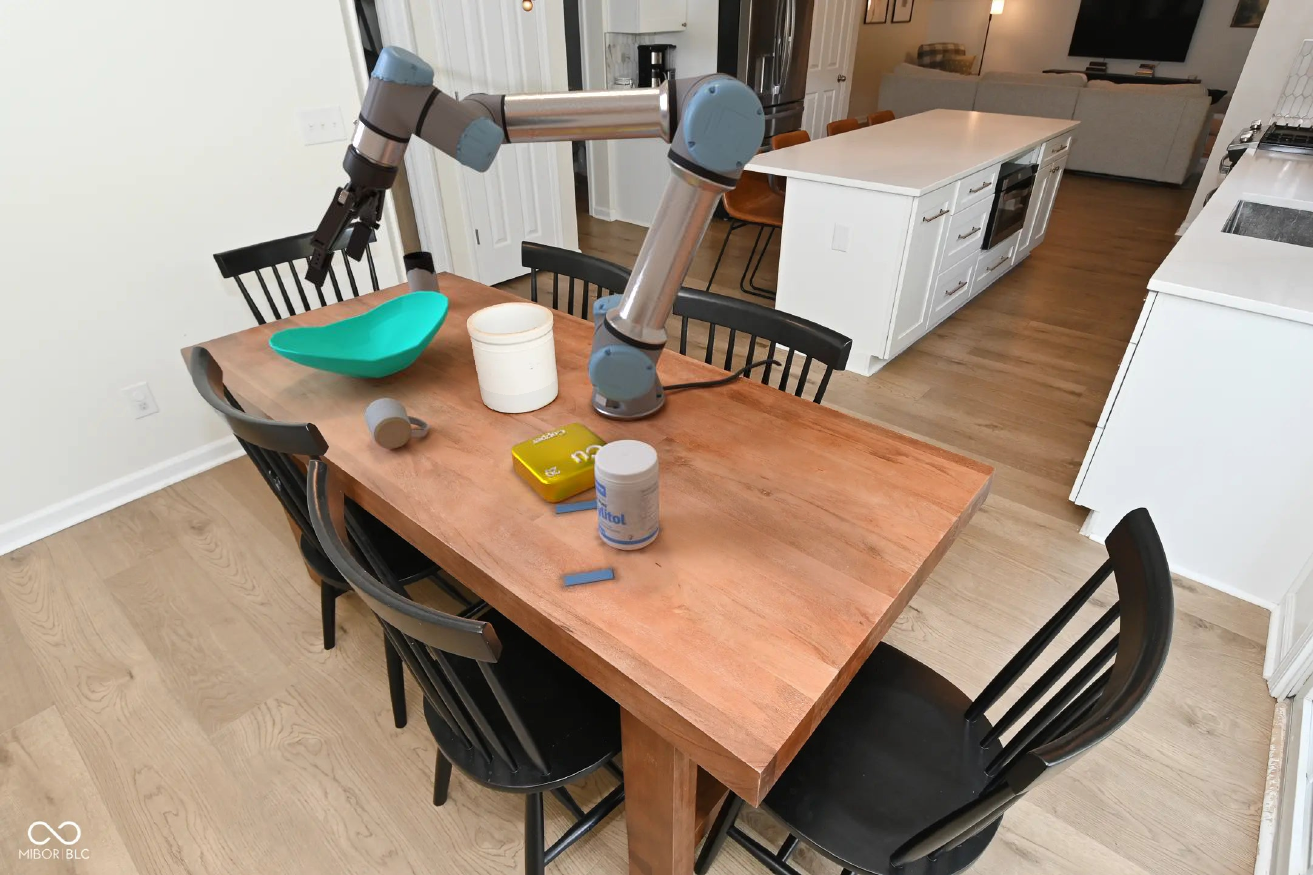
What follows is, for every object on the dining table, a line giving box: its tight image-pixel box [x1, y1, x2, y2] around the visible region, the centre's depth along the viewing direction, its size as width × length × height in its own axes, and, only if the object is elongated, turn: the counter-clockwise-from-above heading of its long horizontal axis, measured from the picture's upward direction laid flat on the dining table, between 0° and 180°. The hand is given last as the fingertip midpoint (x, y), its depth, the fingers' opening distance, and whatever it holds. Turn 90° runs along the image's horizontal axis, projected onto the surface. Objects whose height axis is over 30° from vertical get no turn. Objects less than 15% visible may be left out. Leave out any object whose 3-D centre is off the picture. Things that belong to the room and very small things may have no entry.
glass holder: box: [402, 250, 441, 294], centre depth 190 cm, size 9×14×15 cm, turn 5°
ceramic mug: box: [364, 397, 429, 450], centre depth 131 cm, size 11×8×8 cm
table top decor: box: [268, 291, 450, 380], centre depth 155 cm, size 40×28×13 cm
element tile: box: [510, 422, 609, 503], centre depth 121 cm, size 15×15×5 cm
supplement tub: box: [595, 439, 660, 551], centre depth 104 cm, size 10×10×15 cm
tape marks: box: [555, 499, 615, 587], centre depth 107 cm, size 7×19×1 cm, turn 11°
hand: (334, 269), depth 114 cm, fingers open, 13 cm apart
